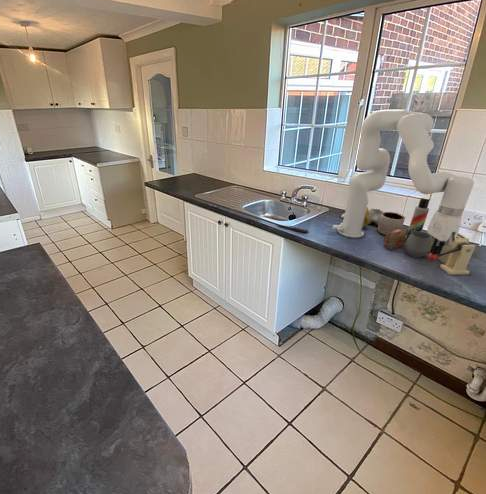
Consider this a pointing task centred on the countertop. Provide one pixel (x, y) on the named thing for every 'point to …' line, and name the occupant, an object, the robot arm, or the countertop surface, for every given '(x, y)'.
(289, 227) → the knife
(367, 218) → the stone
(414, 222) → the spray bottle
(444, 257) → the toaster
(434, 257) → the red knob lever
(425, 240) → the cup
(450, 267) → the lever bracket
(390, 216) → the planter
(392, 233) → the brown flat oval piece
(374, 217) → the fossil
